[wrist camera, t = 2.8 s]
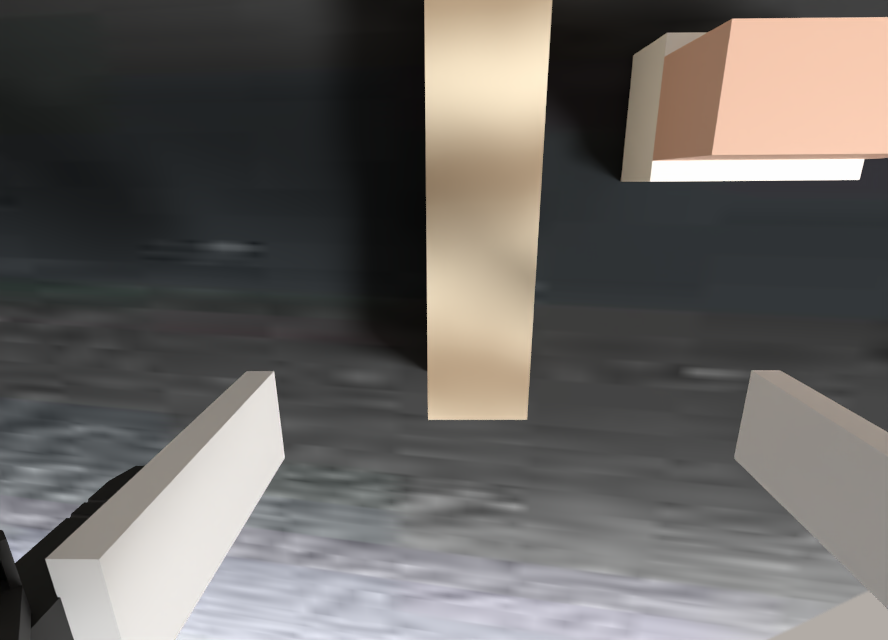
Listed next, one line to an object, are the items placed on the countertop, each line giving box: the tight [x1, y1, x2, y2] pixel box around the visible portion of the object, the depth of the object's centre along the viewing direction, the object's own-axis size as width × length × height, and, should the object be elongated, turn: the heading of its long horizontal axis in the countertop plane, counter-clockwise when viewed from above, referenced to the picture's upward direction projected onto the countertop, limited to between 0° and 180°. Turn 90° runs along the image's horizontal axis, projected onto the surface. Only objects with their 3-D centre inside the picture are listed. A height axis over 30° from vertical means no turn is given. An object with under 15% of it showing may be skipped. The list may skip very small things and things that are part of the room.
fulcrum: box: [621, 17, 888, 182], centre depth 16 cm, size 8×5×7 cm, turn 90°
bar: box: [424, 0, 552, 420], centre depth 18 cm, size 18×4×5 cm, turn 0°
